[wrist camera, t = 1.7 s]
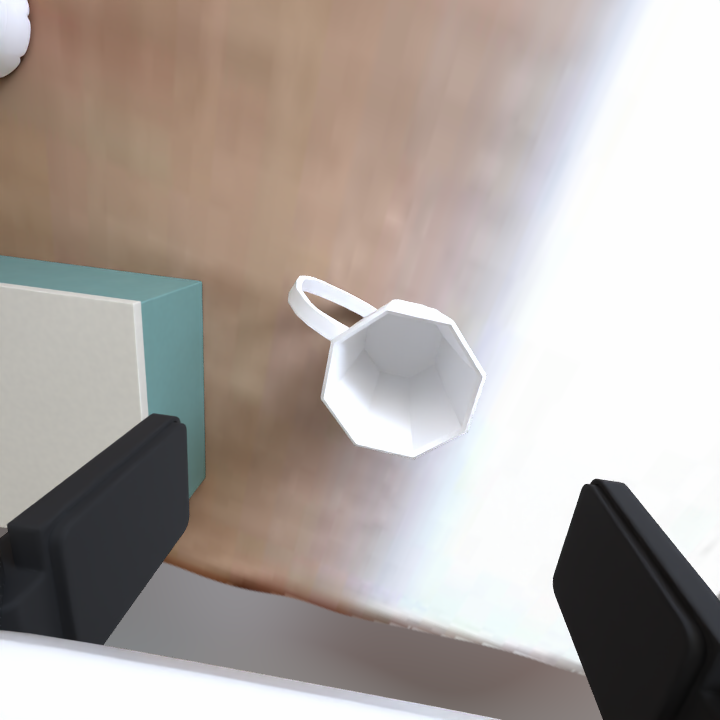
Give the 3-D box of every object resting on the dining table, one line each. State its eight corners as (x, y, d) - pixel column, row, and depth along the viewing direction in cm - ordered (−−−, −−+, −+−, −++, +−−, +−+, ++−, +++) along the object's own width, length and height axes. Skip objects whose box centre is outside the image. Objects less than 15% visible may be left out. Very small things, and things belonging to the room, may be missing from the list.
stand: (-48, 247, 27) (-198, 259, 20) (204, 279, 26) (133, 303, 19) (-6, 446, 32) (-116, 509, 25) (207, 480, 30) (152, 555, 24)
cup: (415, 410, 27) (418, 488, 19) (281, 320, 26) (229, 365, 18) (488, 321, 25) (524, 371, 17) (344, 219, 24) (315, 223, 16)
